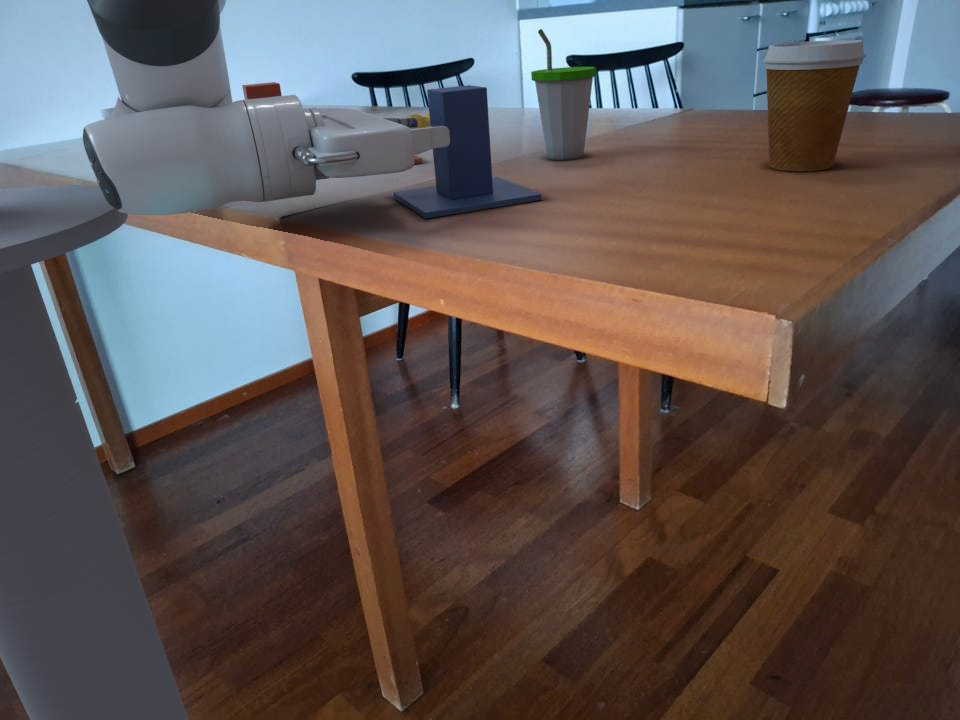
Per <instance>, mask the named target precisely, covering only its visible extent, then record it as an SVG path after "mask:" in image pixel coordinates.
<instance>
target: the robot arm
mask: <svg viewBox="0 0 960 720" xmlns="http://www.w3.org/2000/svg"><path fill="white" fill-rule="evenodd" d="M86 2H87V4H88V6H89V9H90V12H91V14H92V17H93V19H94V22H95V24H96V28H97V30H98V32H99V34H100V36H101V38H102V41H103V45H104V48H105V51H106V54H107V57H108V61H109V65H110V68H111V71H112V75H113V77H114V81H115V84H116V87H117V91H118V95H119V96H120V97H119V96H118V97H117V99H116V102H115V105H114V106H115V108H114V110H113V111H112V113H111V114H110V115H109V117H108V118H107V119H104V118H103V119H101V120H97V121H94V122H91V123H88V124H86V125H85V126H84V127H83V130H82V142H83V143H82V144H83V147H84V150H85V153H86V156H87V159H88V161H89V164H90V166H91V169H92V171H93V173H94V176H95V178H96V181H97V184H98V187H100V189H101V191H102V193H103V195H104V197H105V199H106V200H107V202H108V203H109V204H110V205H111V206H112V207H114V208H115V209H116V210H117V211H119V212H122V213H127V214H128V215H134V216H164V215H165V216H166V215H168V216H169V215H179V214H187V213H188V214H189V213H195V212H196V213H197V212H203V211H210V210H215V209H218V208H220V207H222V206H224V205H226V204H229V203H233V202H251V203H266V202H271V201H272V202H273V201H279V200H287V199H292V198H293V199H294V198H300V197H301V198H302V197H309V196H313V195H315V194H316V190H317V189H316V188H317V181H320V180H327V179H330V178H332V179H342V178H343V179H345V178H346V179H347V178H359V177H369V176H378V175H386V174H387V175H388V174H395V173H402V172H406V171H409V170H411V169H412V168H413V167H415V164H414V156H416V155H421V154H423V153H425V152H428V151H431V150H433V149H435V148H442V147H447V146H448V145H449V144H450V135H449V129H448V128H447V127H445V126H442V125H436V126H428V127H425V128H418V121H417V119H416V118H413V117H410V116H409V117H406V116H401V117H380V116H377V115H374V114H371V113H368V112H364V111H361V110H358V109H353V108H338V107H337V108H335V107H334V108H332V107H331V108H330V107H329V108H328V107H327V108H325V107H323V108H322V107H321V108H319V107H309V108H308V107H307V108H306V107H305V108H304V107H303V105H302V103H301V102H302V101H300V98H299V97H298V96H297V95H296V94H288V95H282V96H277V97H268V98H258V99H247V100H245V99H240V100H235V101H233V97H232V90H231V85H230V77H229V72H228V71H229V70H228V65H227V58H226V52H225V46H224V40H223V35H222V29H221V14H222V12H223V10H224V8H225V7H226V4H227V0H86Z"/></svg>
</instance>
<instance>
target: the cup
mask: <svg viewBox="0 0 960 720" xmlns="http://www.w3.org/2000/svg"><path fill="white" fill-rule="evenodd" d="M537 32H538V35H539V36H540V38H541V39H542V41H543V43H544V44H545V47H546V68H544V69H536V70H533V71H531V72H530V74H531V75H530V76H531V77H530V78H531V81H533V82H534V83H535V91H536V95H537V103H538V109H539V115H540V122H541V128H542V134H543V141H544V147H545V153H546V158H547V159H548V160H552V161H571V160H578V159H581V158H583V157H584V155H585V147H586V137H587V129H588V123H589V122H588V121H589V113H590V104H591V97H592V88H593V81H594V80H593V79H594V77H597V67H595V66H567V67H555V68H553V54H552V51H553V50H552V44H551V41H550V40H549V38H548V36H547V34H546V33H545V32H544V30H543V29H542V28H540V29H539V30H538V31H537Z"/></svg>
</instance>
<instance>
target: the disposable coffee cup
mask: <svg viewBox="0 0 960 720" xmlns="http://www.w3.org/2000/svg"><path fill="white" fill-rule="evenodd" d="M864 49H865V48H864V40H863V39H862V40H861V39H834V40H833V39H832V40H811V41H797V42H785V43H776V44H775V43H774V44H770V45H768V48H767V52H766V54H765V58H763V59H761V60H762V63H764V69H766V94H767V95H766V101H767V104H766V105H767V132H768V133H767V134H768V166H769V167H770V168H772V169H775V170H779V171H787V172H817V171H823V170H827V169H831V168H833V167H834V163H835V160H836V156H837V153H838V149H839V145H840V141H841V138H842V137H841V136H842V134H843V131H844V126H845V122H846V119H847V115H848V111H849V108H850V103H851V99H852V96H853V93H854V89H855V85H856V82H857V77H858V74H859V69H860V67H861V65H862V64H863V62H864V59H865V58H867V55H868V54H866V53H865V50H864Z"/></svg>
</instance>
